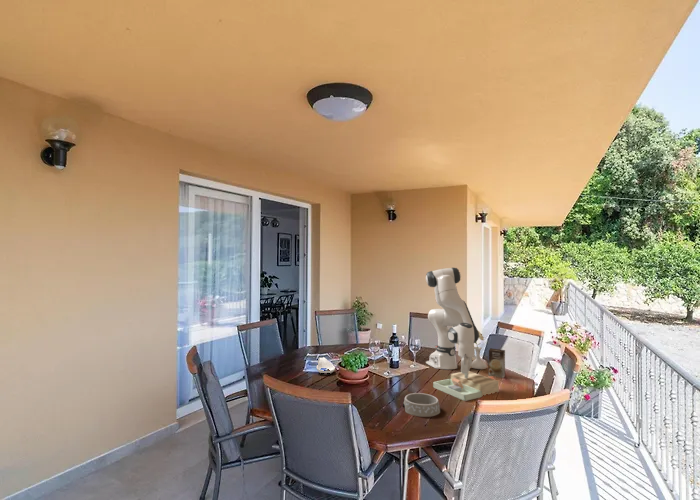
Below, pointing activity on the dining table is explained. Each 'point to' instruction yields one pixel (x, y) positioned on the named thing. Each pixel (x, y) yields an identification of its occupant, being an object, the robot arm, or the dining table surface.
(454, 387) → the slate tile
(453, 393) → the tray
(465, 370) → the robot arm
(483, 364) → the flower in vase
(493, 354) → the coffee box
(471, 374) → the bench slab
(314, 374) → the dining table surface
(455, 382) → the terracotta tile
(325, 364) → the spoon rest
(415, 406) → the dog bowl
